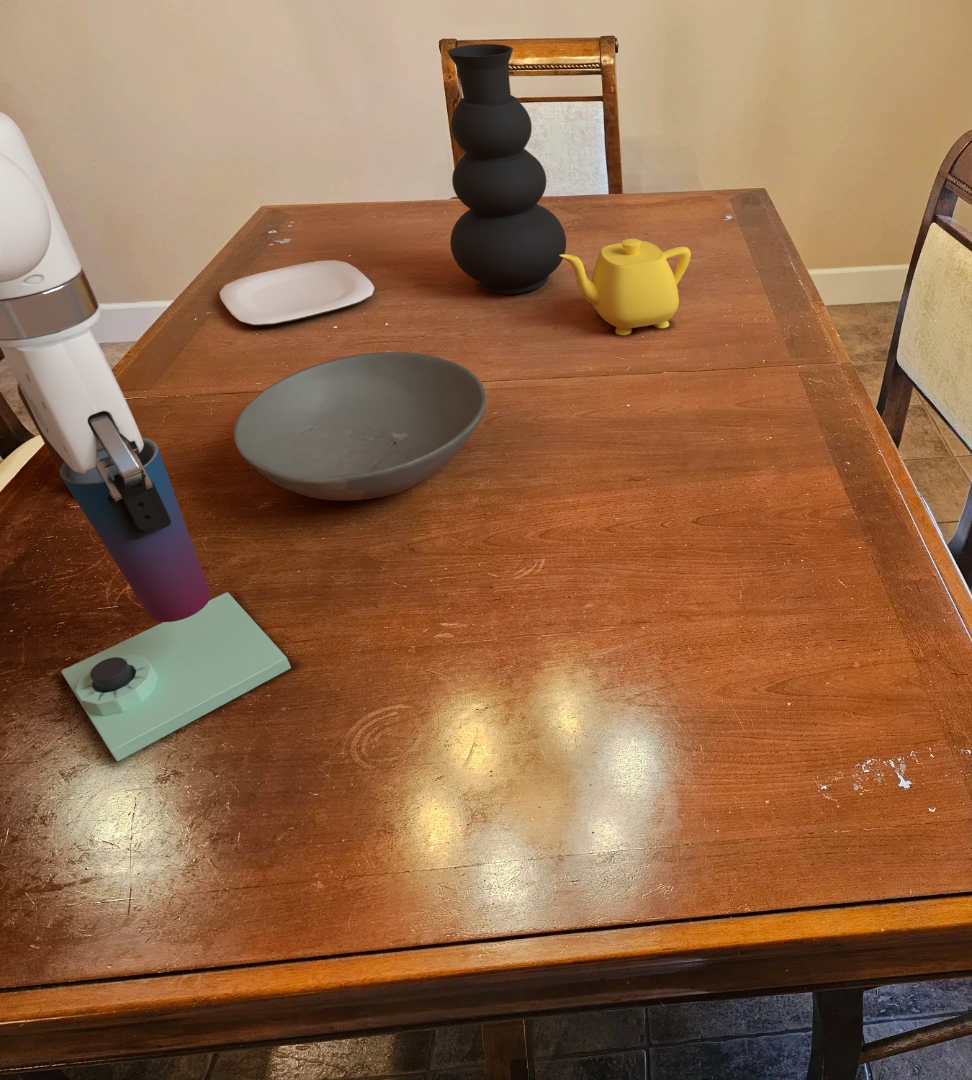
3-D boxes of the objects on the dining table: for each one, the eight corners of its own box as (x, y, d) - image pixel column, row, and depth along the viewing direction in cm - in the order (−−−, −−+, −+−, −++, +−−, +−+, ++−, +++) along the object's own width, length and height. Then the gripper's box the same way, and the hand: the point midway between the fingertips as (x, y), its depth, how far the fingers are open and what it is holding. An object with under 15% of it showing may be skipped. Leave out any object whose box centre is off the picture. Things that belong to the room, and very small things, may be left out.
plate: (344, 263, 162) (341, 253, 161) (388, 304, 148) (386, 294, 147) (212, 293, 152) (209, 283, 151) (247, 340, 138) (243, 330, 137)
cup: (118, 622, 79) (38, 477, 70) (173, 572, 84) (105, 431, 75) (186, 635, 78) (114, 489, 69) (238, 584, 83) (177, 442, 74)
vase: (449, 272, 158) (405, 44, 137) (553, 256, 164) (527, 34, 142) (471, 314, 145) (426, 68, 123) (584, 294, 151) (560, 56, 129)
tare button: (103, 698, 79) (96, 685, 78) (92, 681, 80) (85, 668, 79) (138, 680, 80) (131, 668, 79) (127, 664, 82) (119, 652, 81)
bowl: (203, 492, 107) (176, 431, 102) (384, 389, 126) (370, 333, 121) (371, 568, 96) (351, 504, 91) (542, 443, 115) (533, 384, 110)
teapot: (557, 314, 145) (547, 236, 137) (677, 294, 151) (674, 217, 143) (580, 350, 135) (571, 268, 127) (707, 327, 141) (706, 247, 133)
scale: (117, 762, 76) (102, 738, 75) (67, 681, 84) (52, 657, 82) (291, 668, 85) (281, 644, 83) (232, 602, 92) (222, 579, 90)
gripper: (-62, 285, 67) (51, 490, 78) (6, 363, 57) (123, 583, 68) (53, 257, 71) (144, 455, 82) (134, 325, 61) (225, 539, 72)
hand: (134, 511), depth 75 cm, fingers closed on cup, 6 cm apart
